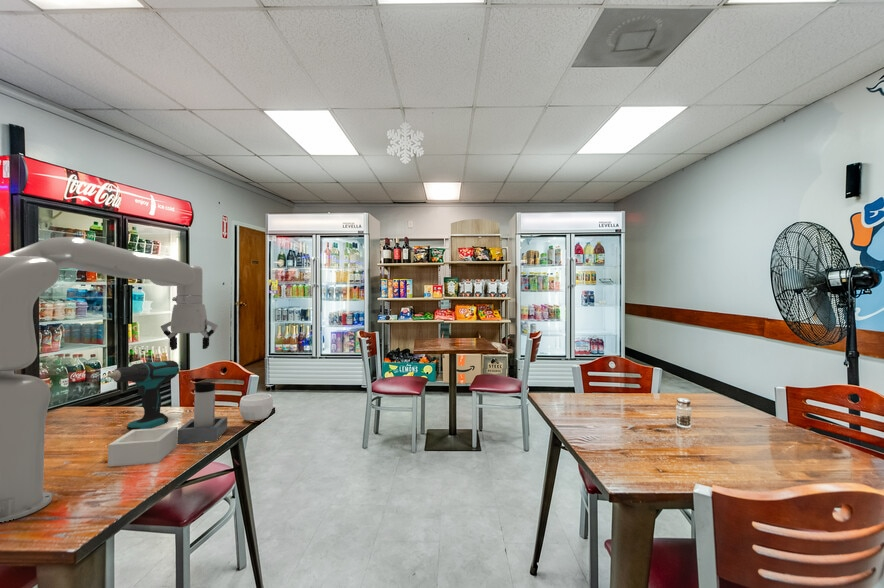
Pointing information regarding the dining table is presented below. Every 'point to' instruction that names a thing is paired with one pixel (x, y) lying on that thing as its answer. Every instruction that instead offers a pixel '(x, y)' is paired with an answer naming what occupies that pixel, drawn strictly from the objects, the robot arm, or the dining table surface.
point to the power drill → (148, 388)
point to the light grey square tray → (142, 446)
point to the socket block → (201, 431)
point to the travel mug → (204, 404)
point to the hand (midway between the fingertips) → (189, 348)
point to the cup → (256, 406)
